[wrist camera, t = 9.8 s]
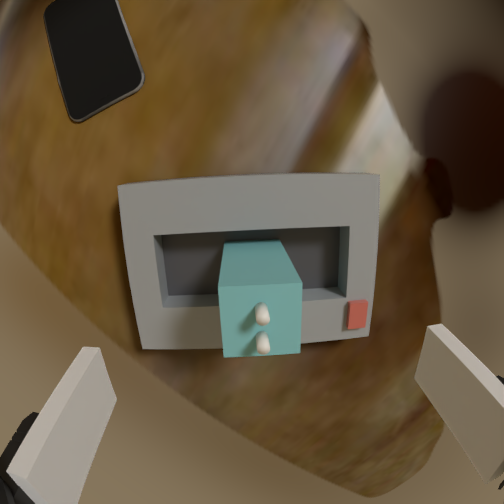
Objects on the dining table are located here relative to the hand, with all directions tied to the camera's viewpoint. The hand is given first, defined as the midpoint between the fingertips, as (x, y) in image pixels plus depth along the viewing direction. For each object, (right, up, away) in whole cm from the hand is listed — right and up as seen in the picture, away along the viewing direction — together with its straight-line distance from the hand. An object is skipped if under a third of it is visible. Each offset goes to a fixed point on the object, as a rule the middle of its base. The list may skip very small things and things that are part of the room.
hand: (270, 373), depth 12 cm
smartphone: (-15, +24, +10) cm, 30 cm away
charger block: (-1, +3, +16) cm, 16 cm away
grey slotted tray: (-1, +4, +16) cm, 16 cm away
